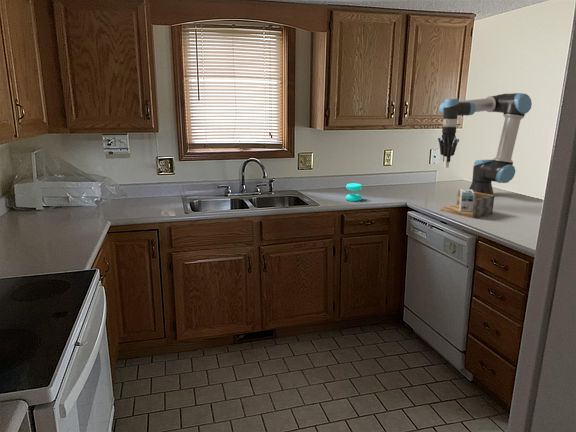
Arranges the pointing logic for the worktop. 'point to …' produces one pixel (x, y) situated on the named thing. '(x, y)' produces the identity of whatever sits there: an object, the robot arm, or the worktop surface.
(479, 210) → the shelf
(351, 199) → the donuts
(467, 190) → the light bulb box
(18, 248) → the worktop surface
